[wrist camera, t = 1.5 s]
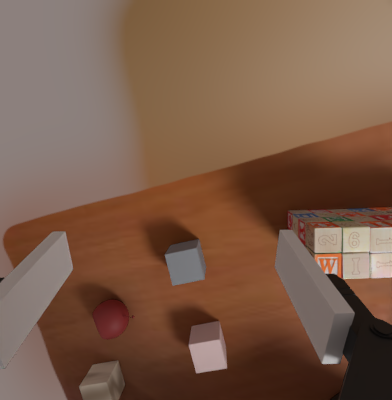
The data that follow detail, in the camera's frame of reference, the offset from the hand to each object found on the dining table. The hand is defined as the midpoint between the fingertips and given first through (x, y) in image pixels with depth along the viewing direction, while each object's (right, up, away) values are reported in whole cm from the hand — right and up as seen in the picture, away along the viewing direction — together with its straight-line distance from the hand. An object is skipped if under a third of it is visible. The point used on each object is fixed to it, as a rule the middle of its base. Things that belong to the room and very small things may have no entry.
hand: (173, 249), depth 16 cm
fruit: (-12, -16, +30) cm, 36 cm away
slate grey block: (0, -6, +28) cm, 29 cm away
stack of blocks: (+27, -1, +25) cm, 37 cm away
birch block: (-15, -29, +32) cm, 46 cm away
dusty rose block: (+4, -21, +30) cm, 36 cm away
